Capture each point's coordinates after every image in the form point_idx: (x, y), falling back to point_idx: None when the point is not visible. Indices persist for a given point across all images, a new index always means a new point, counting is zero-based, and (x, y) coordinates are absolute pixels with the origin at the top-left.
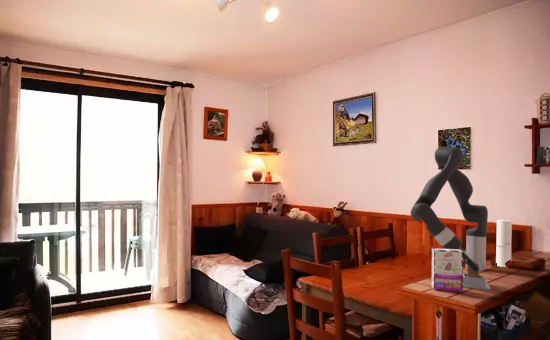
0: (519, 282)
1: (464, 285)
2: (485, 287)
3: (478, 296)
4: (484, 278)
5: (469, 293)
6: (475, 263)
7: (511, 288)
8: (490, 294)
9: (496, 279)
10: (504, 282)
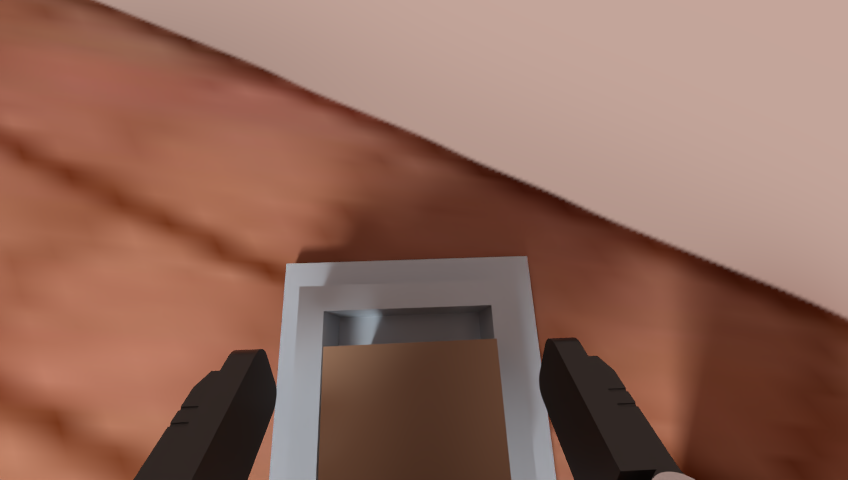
0: (136, 43)
1: (555, 477)
2: (531, 293)
3: (795, 372)
4: (485, 285)
5: (751, 439)
6: (437, 389)
7: (366, 118)
8: (658, 277)
9: (80, 169)
10: (177, 131)
